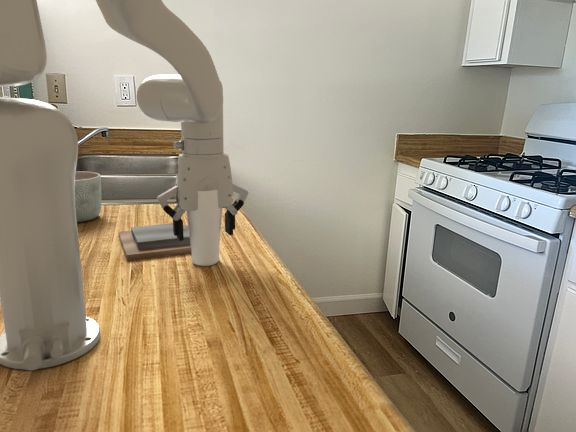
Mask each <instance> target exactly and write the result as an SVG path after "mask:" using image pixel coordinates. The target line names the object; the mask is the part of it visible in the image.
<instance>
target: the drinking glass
mask: <svg viewBox="0 0 576 432" xmlns="http://www.w3.org/2000/svg"><path fill="white" fill-rule="evenodd" d="M217 193H218V190H208V191H198V209H197V210H195V211H185V213H186V218H187V225H188V228H189V236H190V245H191V253H190V254H191V262H192V263H193V264H194V265H196V266H200V267H209V266H213V265H216V264H217V263H218V262H219V261H220V244H221V232H222V231H221V230H222V217H223V216H222V215H223V208H218V195H217Z"/></svg>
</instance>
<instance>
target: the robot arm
mask: <svg viewBox="0 0 576 432" xmlns="http://www.w3.org/2000/svg"><path fill="white" fill-rule="evenodd" d="M95 2H96V4H97V6H98V9H99V10H100V12H101V14H102V16H103V19H104V21H105V23H106V24H107V25H108V27H109V28H111V30H113V31H115V32H116V33H118V34H119V35H121V36H123V37H125V38H127V39H129V40H131V41H133V42H135V43H137V44H139V45H141V46H143V47H146V48H147V49H149V50H150V51H153V52H154V53H156V54H157V55H158V56H161V58H163V59H164V60H165V61H166V62H167V63H169V64H170V65H171V67H173V69H174V70H175V72H177V74H155V75H151V76H149V77H147V78H144V80H142V81H141V83H140V84H139V86H138V88H137V90H136V102H137V106H138V108H139V109H140V111H141V112H142V113H143V114H144V115H145V116H147V117H148V118H150V119H153V120H155V121H161V122H172V123H178V122H179V123H180V132H181V136H180V139H179V140H177V141H173V149H174V150H179V151H181V153H180V154H178V157H177V163H176V174H175V175H176V176H175V177H176V178H175V185H174V186H172V187H171V188H169V189H168V190H166V191H164V192H161V194H159V195H157V196H156V200H157V202H158V203H159V205H160V207H161V208H162V210H163V211H164V213H166V214H167V215H168V216H170V218H172V223H173V233H174V236H177V238H178V239H179V241H183V240H184V236H183V225H184V221H183V219H182V217H183V215H184V214H185V213H186V211H195V210H197V209H198V191H208V190H218V193H217V195H218V208H222V209H225V210H226V211H225V213H224V232H226V234H228V235H229V236H233V235H234V230H236V216H237V214H238V212H239V211H240V209H241V208H242V207H244V204H245V201H246V200H247V198H248V196H249V191H248V190H246V189H245V188H243V187H240V186H238V185H236V184H233V177H232V168H231V162H230V156H229V154H227V153H224V152H225V151H224V147H225V146H224V94H223V93H224V90H223V89H224V88H223V83H222V81H221V79H220V77H219V74H218V72H217V70H216V69H217V68H216V66H215V63H214V60H213V58H212V55H211V54H210V52H209V50H208V49H207V47H206V45H205V43H203V41H202V40H201V39H200V37H198V35H196V33H194V31H192V29H191V28H190V27H189V26H188V25H187V24H186V23H185V22H184V21H183V20H182V19H181V18H180V17H178V16H177V15H176V14H175V13H174V12H172V11H171V10H170V9H169V8H168V7H167V6H166V5H165V3H164V1H163V0H95ZM43 31H44V30H43V26H42V20H41V16H40V11H39V6H38V1H37V0H0V304H1V311H2V313H1V314H2V318H3V325H4V332H3V333H2V334H1V335H0V365H2V366H4V367H7V368H11V369H14V370H25V371H26V370H27V371H36V370H39V369H45V368H46V369H47V368H51V367H55V366H60V365H62V364H66V363H68V362H71V361H73V360H76V359H78V358H80V357H81V356H83V355H85V354H86V353H89V351H90V350H92V349H93V348H94V347H95V346H96V345H97V343H98V342H99V341H100V337H101V331H100V330H101V329H100V325H99V323H98V322H97V321H96V320H94V318H91V317H88V316H87V311H86V302H85V292H84V281H83V280H84V279H83V272H82V262H81V252H80V241H79V232H78V222H77V220H76V209H75V174H76V172H77V165H78V157H79V156H78V155H79V141H78V140H79V139H78V135H77V132H76V129H75V127H74V125H73V123H72V121H71V120H70V119H69V118H68V116H67V115H66V114H65V113H64V112H62V111H61V110H60V109H59V108H57V107H55V106H53V104H50V103H47V102H43V101H40V100H36V99H30V98H22V97H21V98H18V97H3V92H2V89H1V88H2V87H19V86H25V85H27V84H32V83H34V82H35V81H37V80H38V79H39V78H40V77H41V76H42V75H43V74H44V71H45V69H46V66H47V60H48V59H47V58H48V57H47V48H46V47H47V46H46V41H45V36H44V32H43ZM234 193H236V194H238V196H237V198H236V199H235V200H234ZM173 197H175V201H176V205H175V206H174V208H172V207H171V206H170V205H169V203H168V200H170V199H172V198H173Z"/></svg>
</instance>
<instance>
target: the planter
mask: <svg viewBox="0 0 576 432" xmlns="http://www.w3.org/2000/svg"><path fill="white" fill-rule="evenodd" d="M101 178H102V176H101V174H100V173H98V172H93V171H80V170H79V171H76V174H75V209H76V220H77V223H82V222H88V221H92V220H93V219H94V220H95V218H97V217H98V216H100V214H101V210H102V182H101V181H102V180H101Z"/></svg>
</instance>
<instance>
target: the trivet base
mask: <svg viewBox="0 0 576 432" xmlns="http://www.w3.org/2000/svg"><path fill="white" fill-rule="evenodd" d="M117 234H118V239H119V241H120V242H119V243H120V245H121V247H122V250H123V254H124V256H125V259H126V261H127V262H128V261H136V260H146V259H153V258H161V257H168V256H169V257H170V256H177V255H187V254H191V245H190V236H189V228H188V224H186V225H184V224H183V236H184V240H183V241H179V239H178V238H177V236H174V233H173V222H172V223H163V224H153V225H152V224H151V225H141V226H131V227H130V230H124V231H118V233H117Z"/></svg>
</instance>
